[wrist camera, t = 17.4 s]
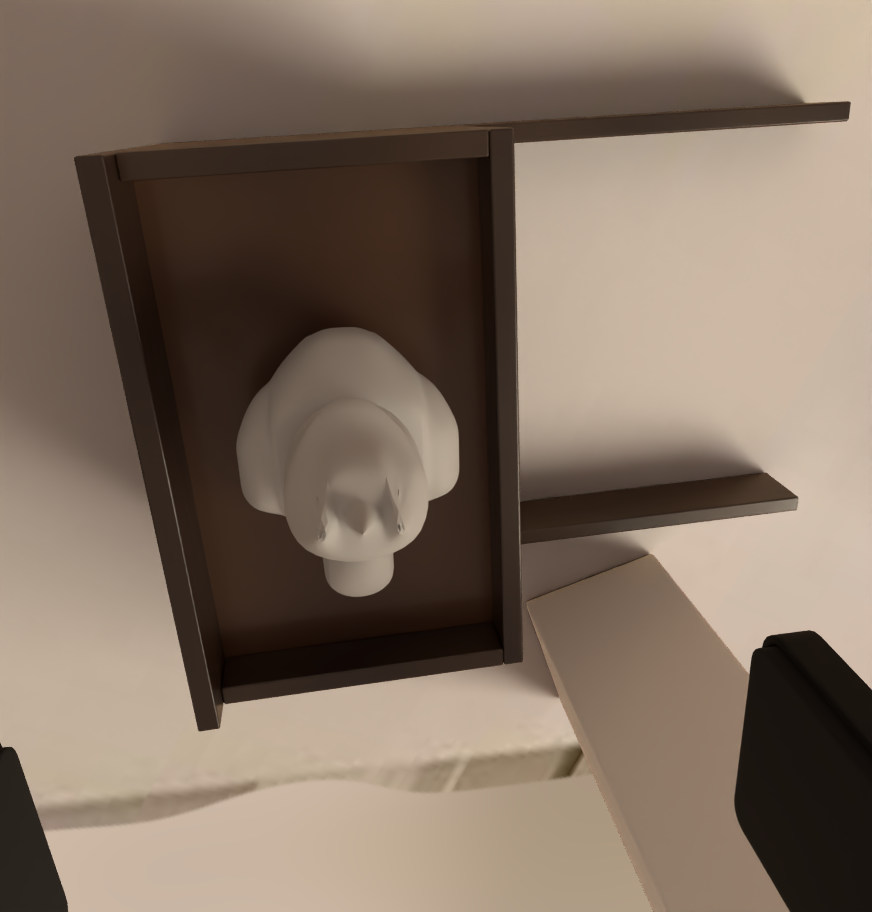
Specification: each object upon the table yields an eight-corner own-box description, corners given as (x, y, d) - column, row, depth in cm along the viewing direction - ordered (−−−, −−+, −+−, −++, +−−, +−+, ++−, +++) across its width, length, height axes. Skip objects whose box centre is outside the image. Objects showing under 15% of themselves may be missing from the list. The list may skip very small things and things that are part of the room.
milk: (651, 550, 35) (1128, 1127, 15) (680, 656, 37) (1122, 1273, 17) (521, 601, 35) (821, 1250, 15) (558, 703, 37) (859, 1379, 17)
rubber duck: (440, 303, 21) (511, 398, 14) (445, 525, 24) (508, 704, 17) (231, 315, 21) (190, 423, 13) (259, 542, 23) (238, 737, 16)
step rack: (808, 102, 29) (1061, 93, 19) (764, 484, 35) (941, 624, 25) (158, 143, 26) (72, 156, 16) (230, 548, 32) (198, 732, 22)
